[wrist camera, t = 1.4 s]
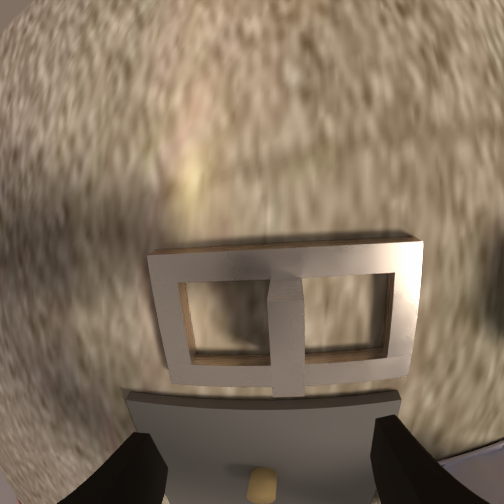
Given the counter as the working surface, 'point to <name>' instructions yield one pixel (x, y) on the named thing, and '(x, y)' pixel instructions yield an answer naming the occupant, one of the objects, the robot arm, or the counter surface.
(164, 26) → the counter surface
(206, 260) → the double window frame
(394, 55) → the counter surface
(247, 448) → the plate
